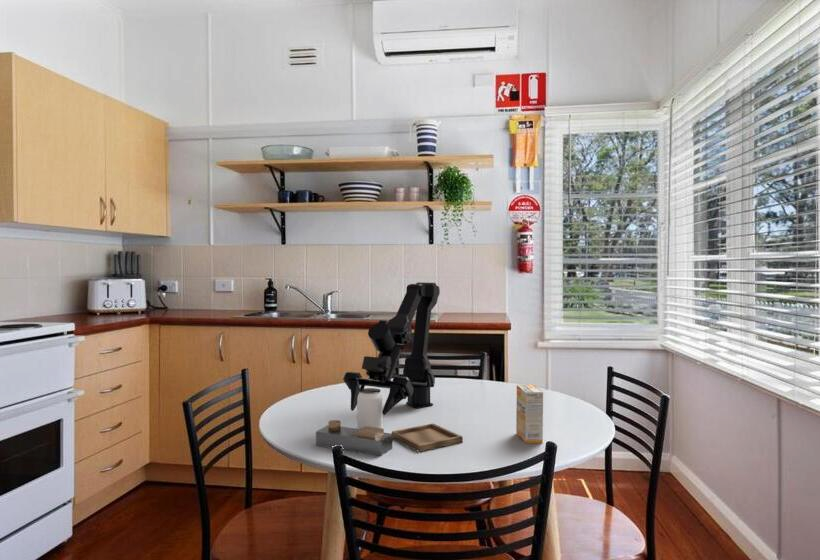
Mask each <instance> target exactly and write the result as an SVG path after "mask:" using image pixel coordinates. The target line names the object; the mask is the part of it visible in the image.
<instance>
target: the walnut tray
mask: <svg viewBox="0 0 820 560" xmlns="http://www.w3.org/2000/svg"><path fill="white" fill-rule="evenodd" d="M391 434H392V439H395V440H397V441H398V442H400V443H402V444H403V443H404V445H405V444H406V445H405V446H407V445H408V446H407V447H409V448H411V447H412V448H411V449H413V448H414V449H413V450H415V449H416V450H418V451H419V452H418V451H417V452H418V453H421V452H420V451H422V452H425V451H424V450H427V451H429V450H428V449H431V450H434V449H433V448H436V449H439V448H438V447H440V448H443V447H442V446H445V447H448V445H449V446H454V445H457V444H462V443H463V442H464V441H463V440H464V439H463V435H460V434H458V433H455V432H454V431H451V430H449V429H446V428H444V427H442V426H440V425H438V424H436V423H428V424H423V425H418V426H412V427H408V428H402V429H398V430H397V429H396V430H392V431H391ZM416 450H415V451H416Z"/></svg>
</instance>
